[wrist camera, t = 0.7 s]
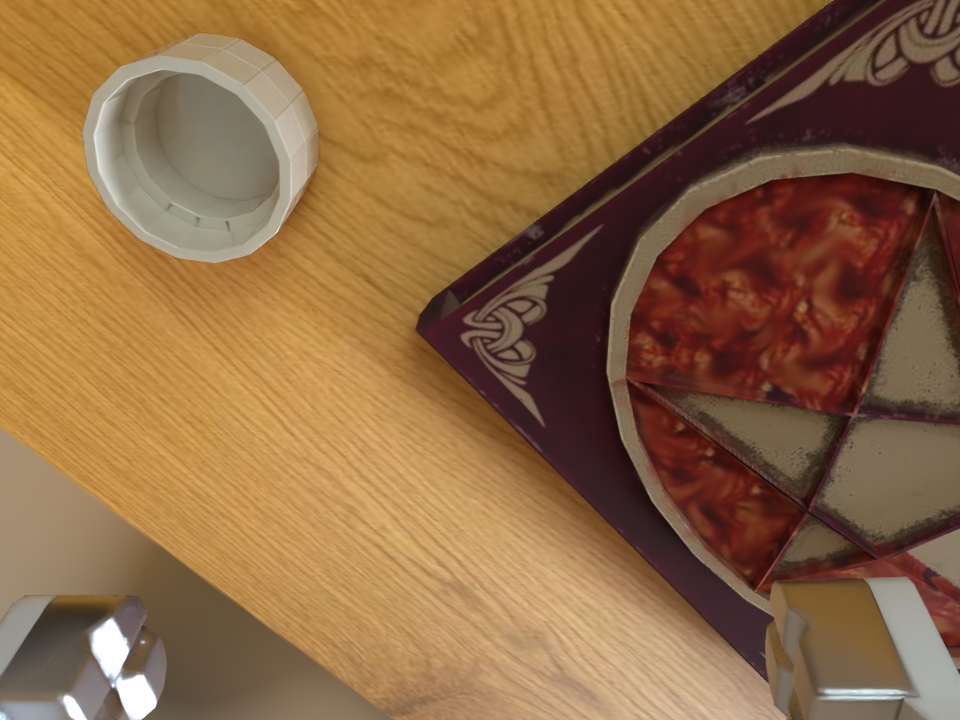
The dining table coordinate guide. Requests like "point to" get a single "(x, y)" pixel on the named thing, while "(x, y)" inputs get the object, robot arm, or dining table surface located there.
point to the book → (755, 325)
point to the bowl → (201, 146)
